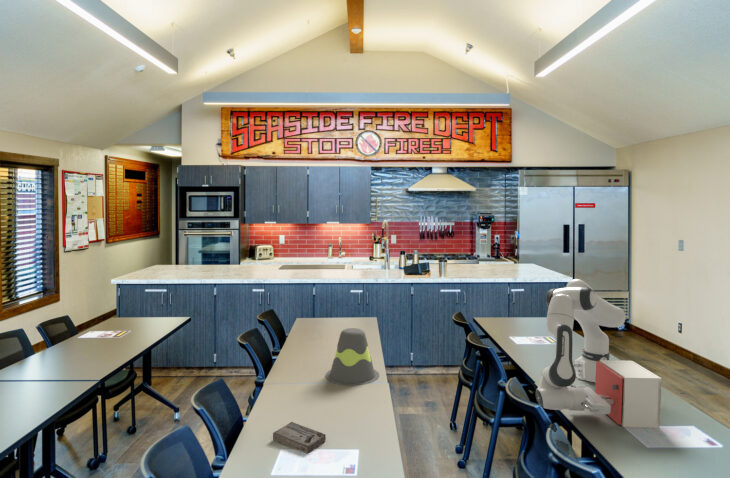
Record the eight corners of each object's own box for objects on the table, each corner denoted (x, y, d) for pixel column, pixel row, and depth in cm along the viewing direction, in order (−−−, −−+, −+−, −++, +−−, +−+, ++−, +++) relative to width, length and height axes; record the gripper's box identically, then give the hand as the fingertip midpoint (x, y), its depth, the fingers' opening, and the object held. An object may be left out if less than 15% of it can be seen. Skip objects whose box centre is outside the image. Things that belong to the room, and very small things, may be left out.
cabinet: (598, 404, 209) (599, 360, 208) (630, 404, 208) (631, 360, 207) (623, 427, 187) (625, 377, 186) (659, 427, 186) (661, 378, 185)
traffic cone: (390, 378, 241) (390, 331, 239) (343, 389, 225) (343, 340, 223) (360, 363, 263) (360, 321, 262) (315, 373, 248) (315, 328, 246)
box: (291, 428, 184) (291, 421, 183) (326, 441, 174) (326, 433, 174) (271, 440, 175) (271, 432, 174) (307, 455, 165) (307, 446, 165)
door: (591, 403, 209) (592, 361, 208) (596, 403, 209) (598, 361, 208) (614, 424, 188) (616, 377, 187) (621, 424, 188) (622, 378, 187)
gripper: (588, 401, 184) (624, 403, 183) (568, 382, 204) (600, 383, 203) (587, 417, 184) (623, 418, 183) (567, 397, 204) (600, 398, 204)
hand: (611, 400), depth 194 cm, fingers closed, pressing on door
